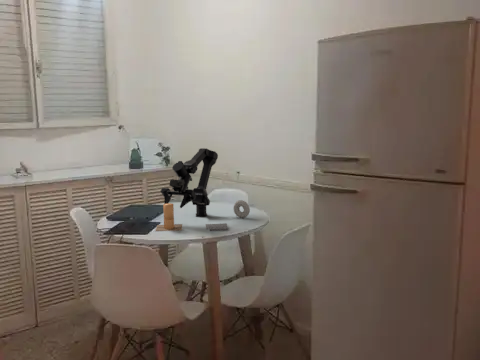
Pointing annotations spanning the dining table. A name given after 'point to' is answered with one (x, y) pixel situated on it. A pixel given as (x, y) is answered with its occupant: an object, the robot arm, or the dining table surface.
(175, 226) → the post board
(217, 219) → the dining table surface
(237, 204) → the donut
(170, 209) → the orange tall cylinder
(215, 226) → the mat
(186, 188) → the robot arm
